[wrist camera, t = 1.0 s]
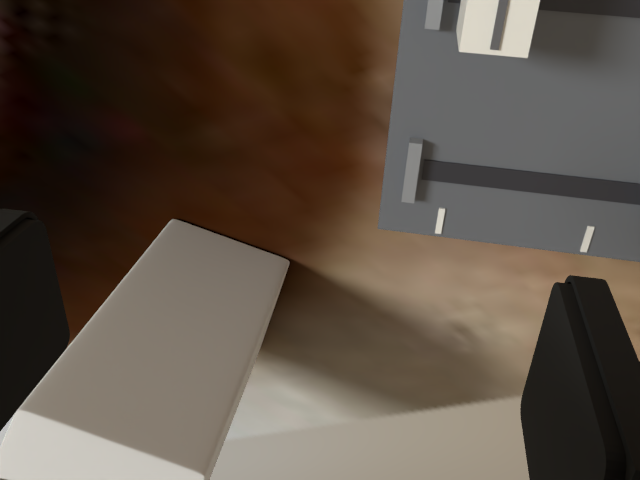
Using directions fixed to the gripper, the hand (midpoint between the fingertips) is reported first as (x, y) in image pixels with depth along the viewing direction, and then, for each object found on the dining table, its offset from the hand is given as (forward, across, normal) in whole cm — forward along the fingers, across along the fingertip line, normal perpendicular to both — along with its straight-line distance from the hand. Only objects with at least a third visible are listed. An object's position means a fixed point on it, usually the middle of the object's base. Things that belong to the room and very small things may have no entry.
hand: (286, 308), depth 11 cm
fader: (+18, -4, -3) cm, 19 cm away
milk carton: (+20, +8, +14) cm, 26 cm away
